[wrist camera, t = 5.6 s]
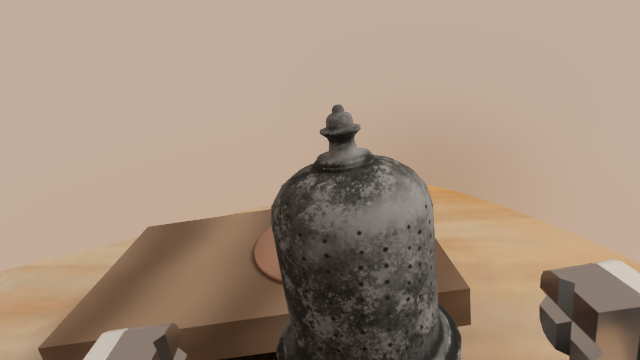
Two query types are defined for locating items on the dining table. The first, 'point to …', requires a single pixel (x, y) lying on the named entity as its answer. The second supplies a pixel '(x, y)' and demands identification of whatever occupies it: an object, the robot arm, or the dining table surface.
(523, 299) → the dining table surface
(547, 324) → the robot arm
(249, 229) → the roller slab
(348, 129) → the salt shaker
